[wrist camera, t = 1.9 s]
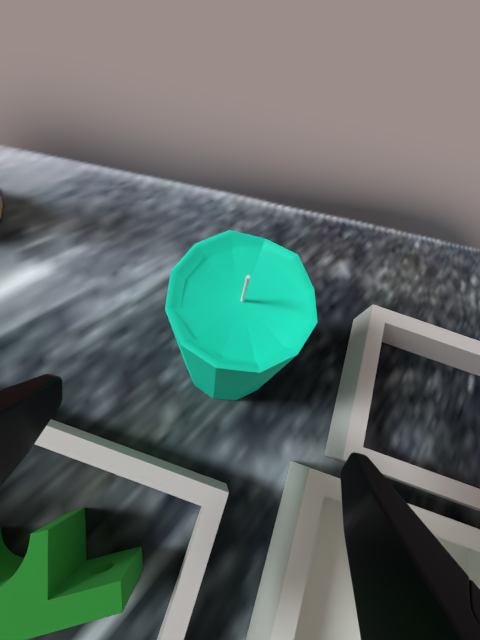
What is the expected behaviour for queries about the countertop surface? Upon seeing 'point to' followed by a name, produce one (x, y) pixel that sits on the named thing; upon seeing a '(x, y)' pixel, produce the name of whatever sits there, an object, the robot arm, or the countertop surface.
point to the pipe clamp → (62, 581)
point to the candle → (239, 312)
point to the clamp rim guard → (168, 481)
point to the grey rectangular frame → (360, 383)
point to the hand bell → (1, 207)
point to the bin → (327, 562)
